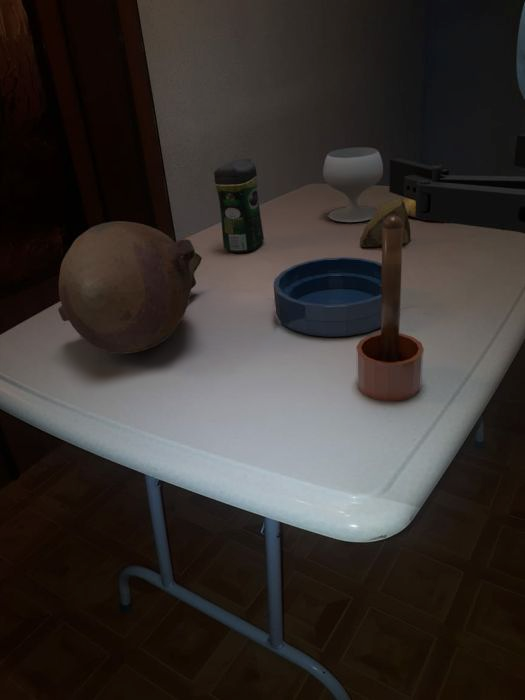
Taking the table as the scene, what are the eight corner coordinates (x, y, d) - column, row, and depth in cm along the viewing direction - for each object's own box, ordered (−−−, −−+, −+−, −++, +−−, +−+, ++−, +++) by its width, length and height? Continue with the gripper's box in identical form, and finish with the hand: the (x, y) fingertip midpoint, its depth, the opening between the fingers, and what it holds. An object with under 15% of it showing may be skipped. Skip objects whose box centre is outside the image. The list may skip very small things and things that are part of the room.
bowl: (408, 294, 95) (409, 261, 92) (381, 350, 80) (381, 312, 77) (301, 284, 103) (299, 254, 100) (258, 333, 88) (254, 299, 85)
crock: (425, 376, 73) (428, 336, 70) (414, 410, 67) (416, 368, 64) (366, 367, 76) (366, 329, 73) (349, 400, 70) (349, 359, 67)
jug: (144, 388, 77) (229, 323, 103) (156, 250, 69) (245, 218, 95) (24, 347, 82) (134, 295, 109) (22, 215, 74) (141, 194, 100)
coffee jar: (237, 238, 130) (227, 156, 120) (268, 240, 127) (260, 155, 117) (218, 253, 122) (206, 166, 113) (251, 255, 119) (241, 166, 110)
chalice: (394, 212, 136) (395, 148, 128) (358, 228, 128) (357, 161, 121) (349, 204, 145) (348, 144, 138) (313, 219, 137) (310, 156, 130)
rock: (351, 241, 114) (400, 238, 109) (354, 201, 115) (402, 196, 110) (367, 257, 123) (412, 254, 119) (369, 219, 124) (414, 215, 120)
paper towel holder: (412, 375, 72) (420, 209, 62) (404, 396, 68) (411, 223, 58) (374, 369, 74) (375, 208, 64) (364, 390, 70) (364, 222, 60)
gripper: (531, 330, 30) (335, 231, 47) (819, 236, 37) (558, 180, 55) (555, 190, 26) (333, 138, 43) (869, 116, 34) (572, 97, 51)
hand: (458, 161), depth 49 cm, fingers open, 13 cm apart
